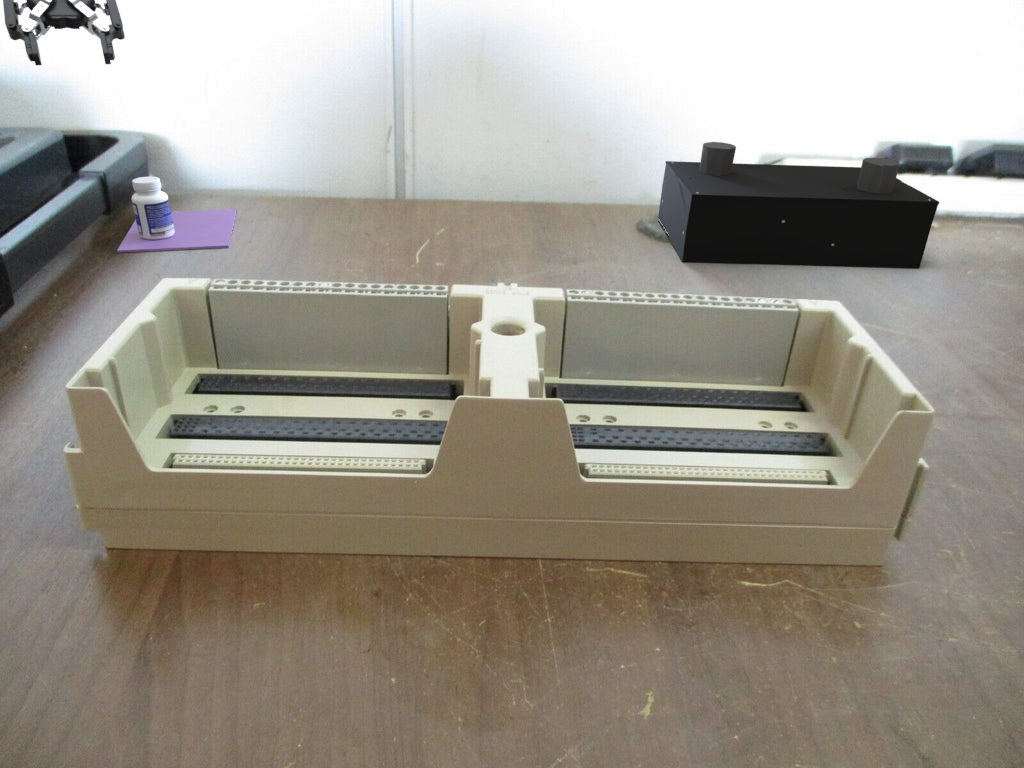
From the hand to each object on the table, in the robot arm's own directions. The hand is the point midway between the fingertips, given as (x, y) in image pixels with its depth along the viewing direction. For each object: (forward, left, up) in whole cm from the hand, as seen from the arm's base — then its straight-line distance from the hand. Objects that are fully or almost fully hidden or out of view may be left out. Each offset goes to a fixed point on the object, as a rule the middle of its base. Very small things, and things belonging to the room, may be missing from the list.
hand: (73, 60), depth 105 cm
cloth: (+9, +7, -27) cm, 29 cm away
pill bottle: (+6, +4, -26) cm, 27 cm away
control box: (+107, -13, -27) cm, 111 cm away
